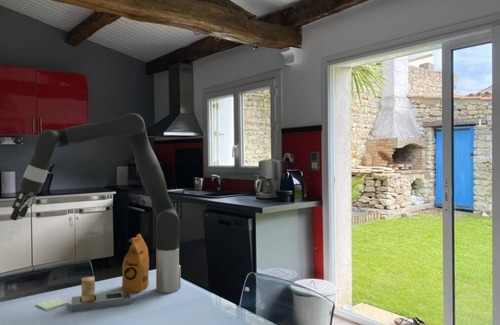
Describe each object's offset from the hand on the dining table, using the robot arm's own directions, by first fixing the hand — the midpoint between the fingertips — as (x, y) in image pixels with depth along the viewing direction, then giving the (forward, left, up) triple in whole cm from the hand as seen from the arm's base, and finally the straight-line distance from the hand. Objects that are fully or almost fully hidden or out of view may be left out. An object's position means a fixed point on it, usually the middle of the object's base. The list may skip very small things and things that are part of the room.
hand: (17, 218), depth 147 cm
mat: (-6, +16, -31) cm, 36 cm away
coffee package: (-36, +24, -32) cm, 54 cm away
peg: (-13, +27, -31) cm, 44 cm away
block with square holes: (-17, +29, -31) cm, 46 cm away
